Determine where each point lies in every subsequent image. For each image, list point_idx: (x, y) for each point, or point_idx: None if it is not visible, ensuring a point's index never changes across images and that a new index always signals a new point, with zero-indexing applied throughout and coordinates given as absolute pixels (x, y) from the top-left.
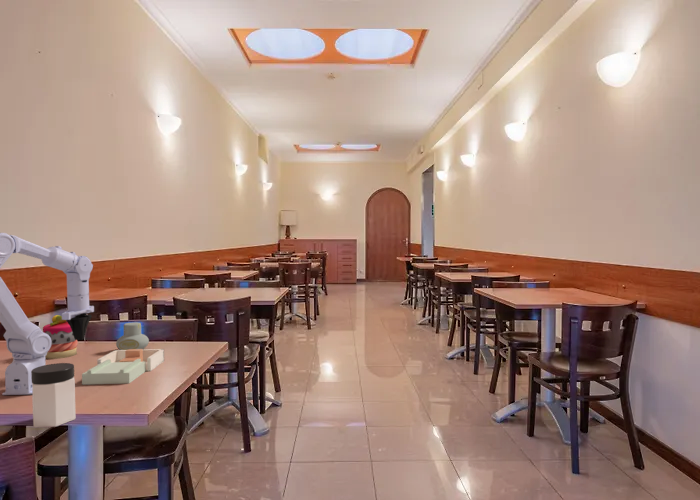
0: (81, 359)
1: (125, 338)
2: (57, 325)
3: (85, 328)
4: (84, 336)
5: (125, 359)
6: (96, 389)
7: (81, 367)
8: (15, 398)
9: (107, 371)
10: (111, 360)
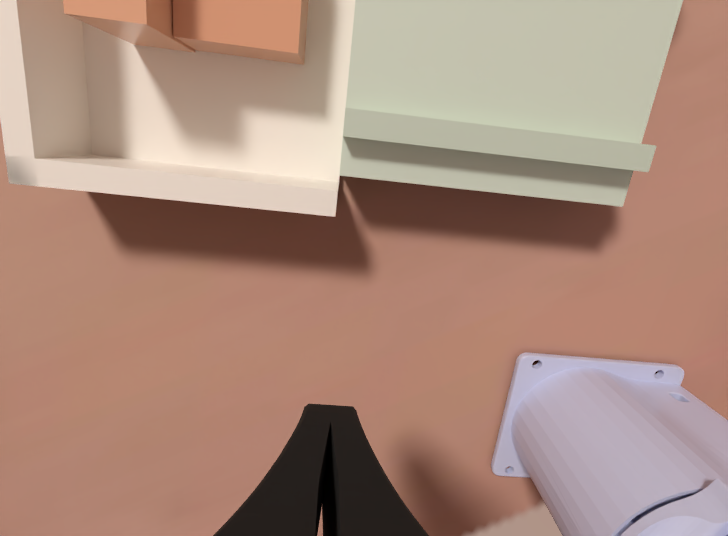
0: (4, 415)
1: None
2: None
3: (304, 479)
4: (310, 414)
5: (253, 11)
6: (716, 72)
7: (199, 343)
8: None
9: (624, 38)
10: (170, 166)
